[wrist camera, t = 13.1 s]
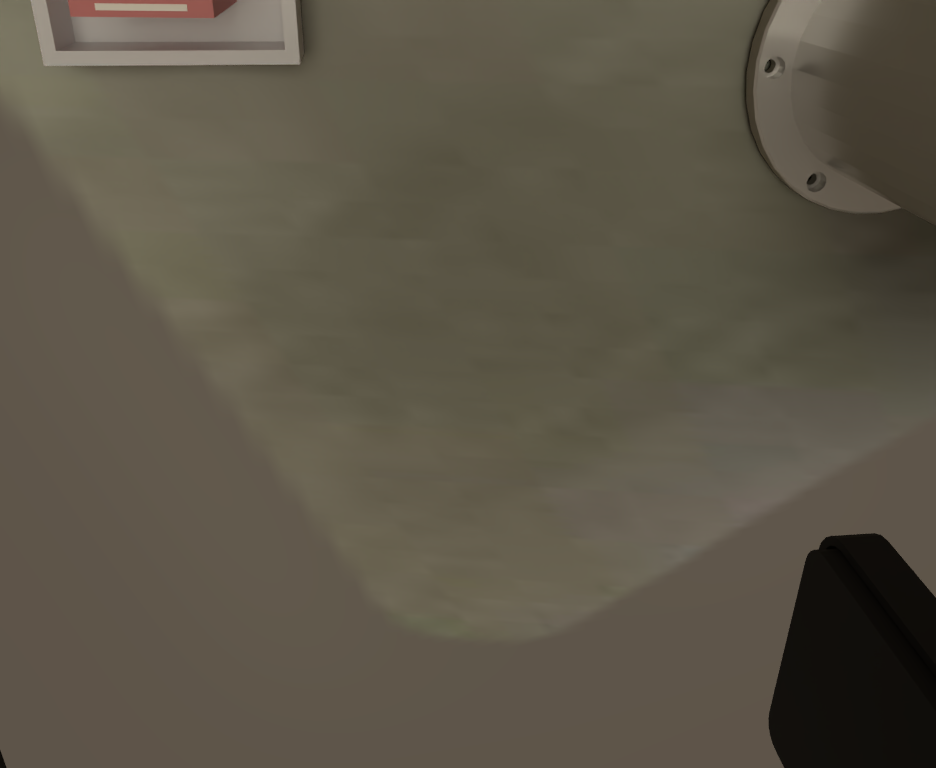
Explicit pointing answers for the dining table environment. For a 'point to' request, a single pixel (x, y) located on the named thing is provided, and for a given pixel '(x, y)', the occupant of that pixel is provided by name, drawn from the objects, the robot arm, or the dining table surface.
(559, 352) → the dining table surface
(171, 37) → the tray
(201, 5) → the red block with stripe
